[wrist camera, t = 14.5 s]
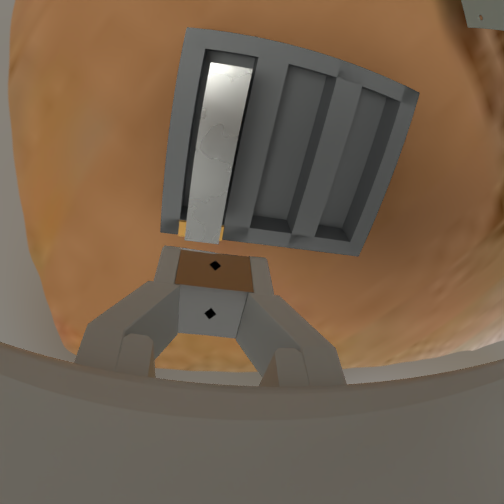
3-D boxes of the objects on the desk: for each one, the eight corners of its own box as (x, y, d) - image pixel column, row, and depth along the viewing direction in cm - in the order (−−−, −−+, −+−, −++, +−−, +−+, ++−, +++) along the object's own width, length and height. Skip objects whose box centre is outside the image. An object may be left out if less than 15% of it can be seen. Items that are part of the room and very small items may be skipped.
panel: (244, 68, 20) (252, 69, 15) (218, 201, 27) (218, 244, 21) (214, 63, 20) (210, 62, 14) (192, 197, 27) (184, 240, 21)
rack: (399, 87, 23) (421, 93, 20) (346, 237, 32) (359, 258, 29) (191, 32, 19) (186, 26, 16) (166, 213, 28) (159, 234, 25)
